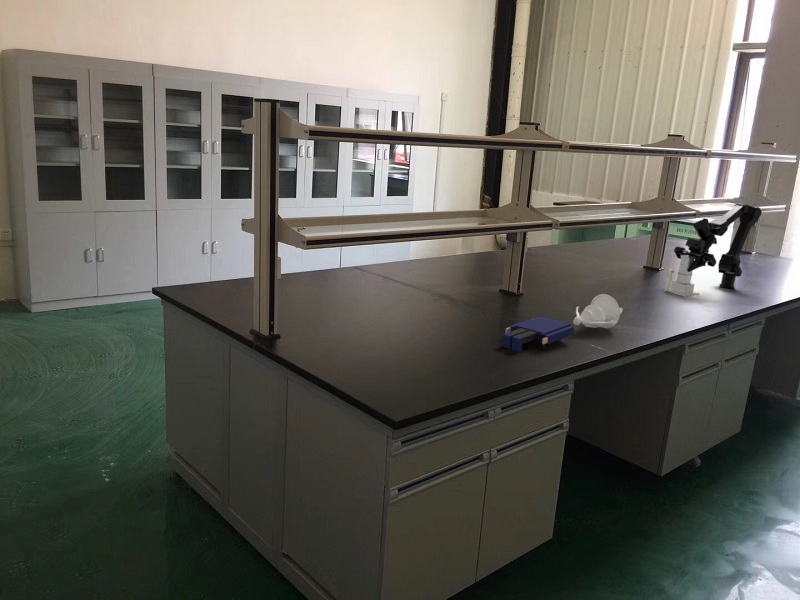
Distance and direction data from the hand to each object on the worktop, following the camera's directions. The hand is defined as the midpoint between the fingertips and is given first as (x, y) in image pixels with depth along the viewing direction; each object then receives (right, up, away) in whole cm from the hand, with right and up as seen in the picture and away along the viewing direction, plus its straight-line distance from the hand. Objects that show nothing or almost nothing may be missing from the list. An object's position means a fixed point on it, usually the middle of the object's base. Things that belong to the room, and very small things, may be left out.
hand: (683, 270), depth 291 cm
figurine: (-57, -24, -60) cm, 86 cm away
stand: (0, -10, +3) cm, 10 cm away
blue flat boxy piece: (-82, -27, -78) cm, 116 cm away
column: (+1, -6, +2) cm, 7 cm away
